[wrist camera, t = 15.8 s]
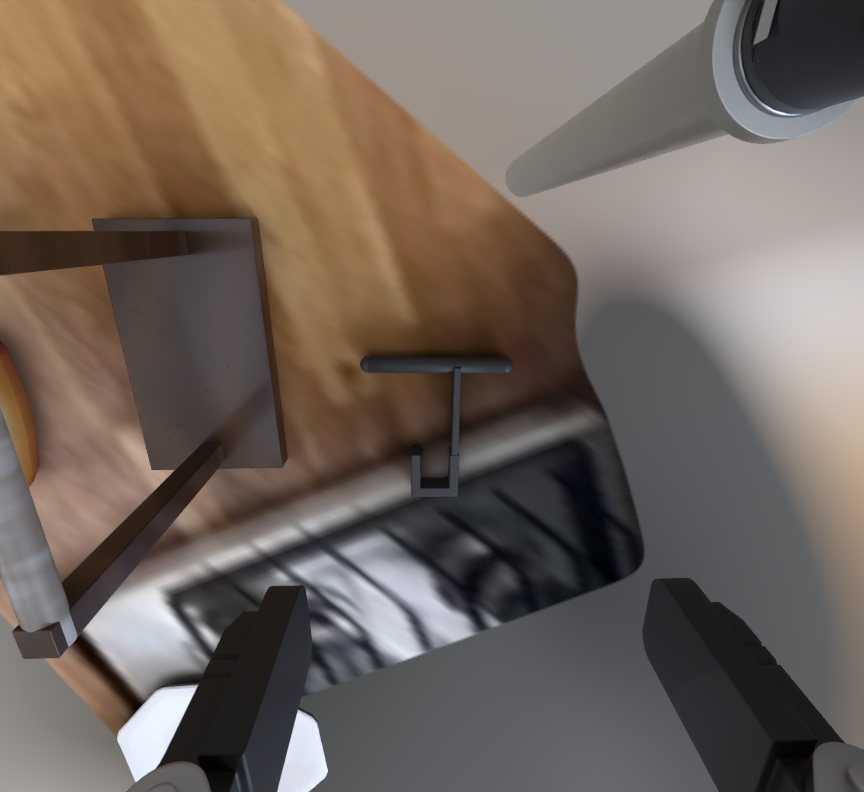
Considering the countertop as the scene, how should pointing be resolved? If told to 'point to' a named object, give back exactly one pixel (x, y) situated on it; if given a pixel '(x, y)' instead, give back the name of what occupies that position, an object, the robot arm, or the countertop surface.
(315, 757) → the plate
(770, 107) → the robot arm
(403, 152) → the countertop surface
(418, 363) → the hanger
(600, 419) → the countertop surface
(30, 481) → the hot dog
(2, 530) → the rail stand
